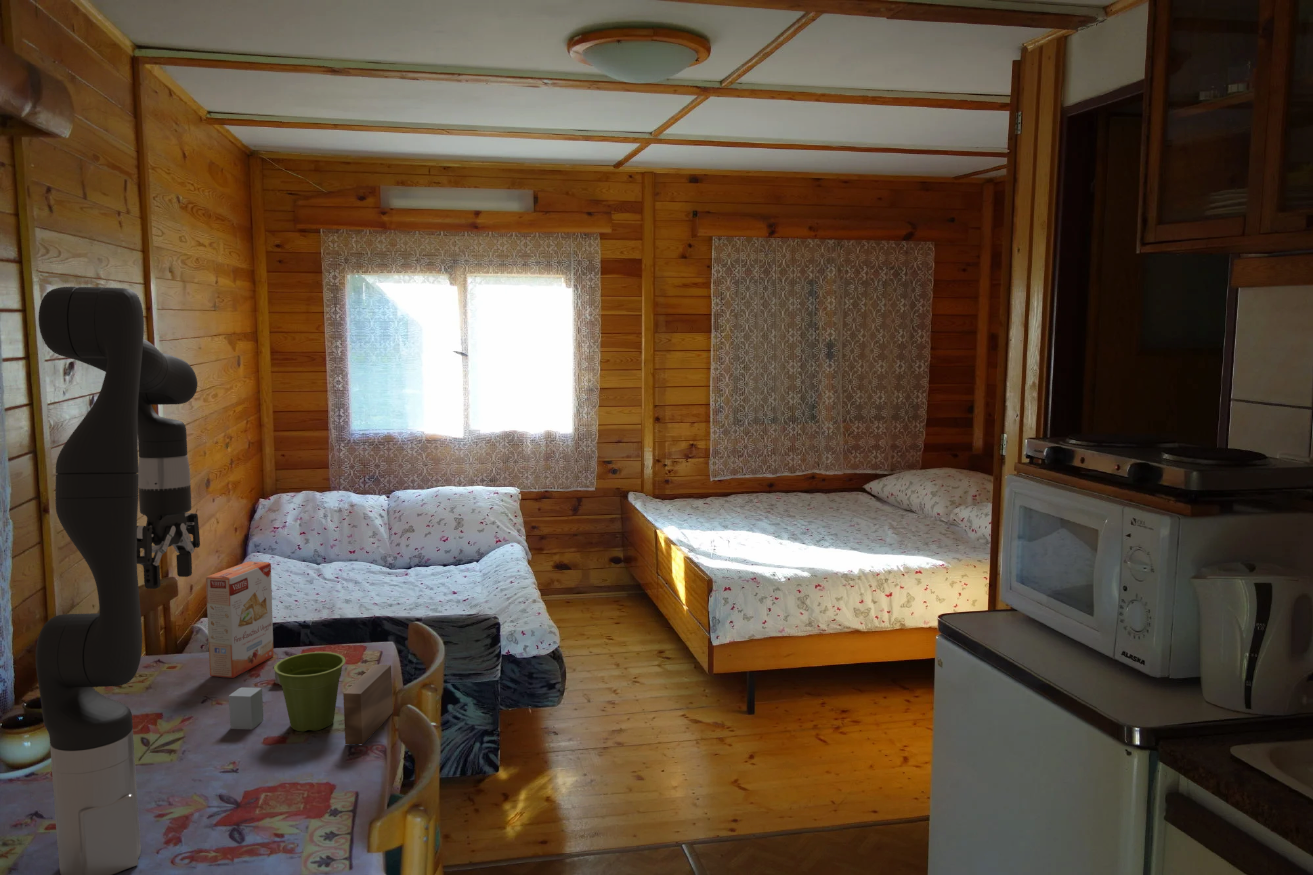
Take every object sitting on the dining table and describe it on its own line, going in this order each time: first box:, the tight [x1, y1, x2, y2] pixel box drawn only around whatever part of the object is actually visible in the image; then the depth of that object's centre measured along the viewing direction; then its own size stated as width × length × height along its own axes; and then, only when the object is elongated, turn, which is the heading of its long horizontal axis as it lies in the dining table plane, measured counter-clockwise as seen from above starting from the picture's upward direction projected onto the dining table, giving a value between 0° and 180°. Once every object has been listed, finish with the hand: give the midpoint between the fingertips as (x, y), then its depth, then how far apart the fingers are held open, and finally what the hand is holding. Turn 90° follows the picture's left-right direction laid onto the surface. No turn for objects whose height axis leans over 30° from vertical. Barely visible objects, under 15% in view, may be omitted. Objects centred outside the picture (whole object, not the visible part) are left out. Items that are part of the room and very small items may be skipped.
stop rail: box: [342, 663, 394, 745], centre depth 166 cm, size 3×14×9 cm, turn 175°
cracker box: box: [205, 560, 275, 679], centre depth 196 cm, size 14×6×21 cm, turn 168°
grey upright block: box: [228, 687, 265, 730], centre depth 168 cm, size 4×4×6 cm
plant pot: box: [273, 651, 346, 732], centre depth 167 cm, size 12×12×11 cm
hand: (169, 582), depth 155 cm, fingers open, 8 cm apart
